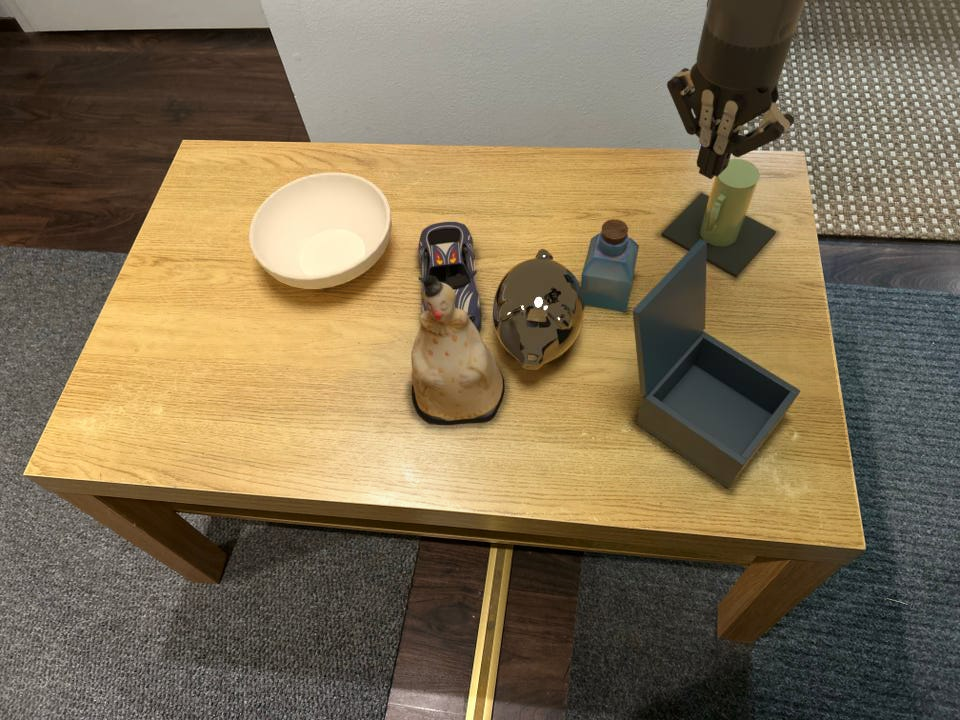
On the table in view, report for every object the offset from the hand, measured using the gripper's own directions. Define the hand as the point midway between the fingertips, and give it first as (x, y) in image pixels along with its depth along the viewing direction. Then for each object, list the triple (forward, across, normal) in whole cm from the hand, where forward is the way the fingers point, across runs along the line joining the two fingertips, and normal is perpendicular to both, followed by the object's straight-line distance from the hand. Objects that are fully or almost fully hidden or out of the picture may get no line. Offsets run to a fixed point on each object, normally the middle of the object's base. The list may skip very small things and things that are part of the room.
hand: (709, 172), depth 73 cm
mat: (+22, +2, -13) cm, 25 cm away
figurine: (+22, +12, +29) cm, 38 cm away
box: (+22, -14, +13) cm, 29 cm away
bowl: (+22, +41, +26) cm, 53 cm away
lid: (+8, -6, +13) cm, 16 cm away
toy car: (+22, +24, +18) cm, 38 cm away
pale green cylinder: (+21, +2, -13) cm, 25 cm away
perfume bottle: (+22, +8, +5) cm, 24 cm away
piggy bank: (+22, +9, +17) cm, 29 cm away
